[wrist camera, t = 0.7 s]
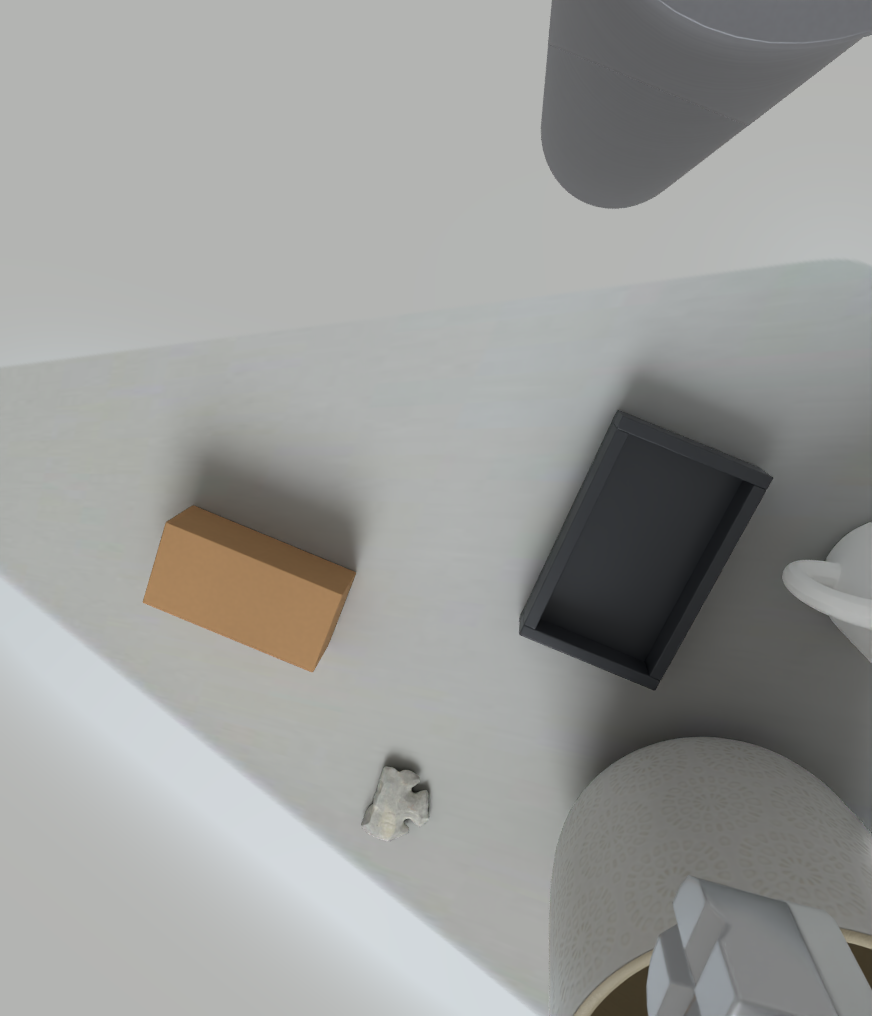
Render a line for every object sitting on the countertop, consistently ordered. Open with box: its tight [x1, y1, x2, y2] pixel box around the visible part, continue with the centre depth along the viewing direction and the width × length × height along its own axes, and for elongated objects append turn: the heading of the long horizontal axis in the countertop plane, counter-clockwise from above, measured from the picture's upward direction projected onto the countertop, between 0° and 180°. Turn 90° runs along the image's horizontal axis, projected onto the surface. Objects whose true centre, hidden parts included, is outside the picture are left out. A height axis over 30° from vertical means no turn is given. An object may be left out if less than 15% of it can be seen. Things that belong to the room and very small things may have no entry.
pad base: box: [519, 410, 773, 690], centre depth 46 cm, size 15×9×3 cm, turn 159°
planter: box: [549, 737, 872, 1016], centre depth 43 cm, size 21×21×19 cm
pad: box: [143, 505, 356, 672], centre depth 49 cm, size 6×12×4 cm, turn 69°
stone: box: [361, 766, 429, 841], centre depth 54 cm, size 6×1×5 cm
